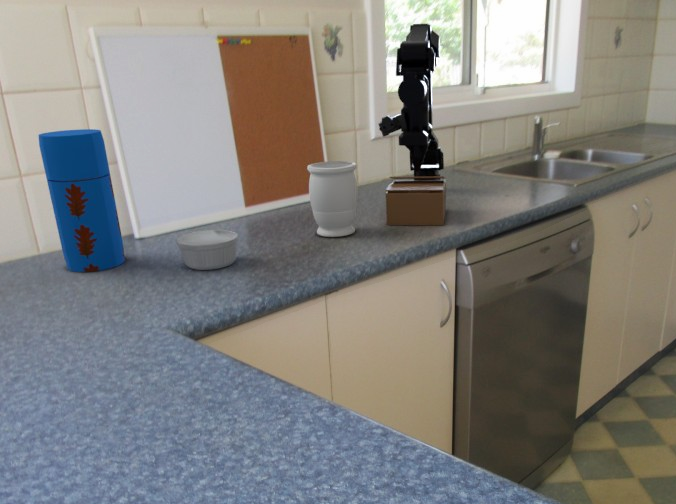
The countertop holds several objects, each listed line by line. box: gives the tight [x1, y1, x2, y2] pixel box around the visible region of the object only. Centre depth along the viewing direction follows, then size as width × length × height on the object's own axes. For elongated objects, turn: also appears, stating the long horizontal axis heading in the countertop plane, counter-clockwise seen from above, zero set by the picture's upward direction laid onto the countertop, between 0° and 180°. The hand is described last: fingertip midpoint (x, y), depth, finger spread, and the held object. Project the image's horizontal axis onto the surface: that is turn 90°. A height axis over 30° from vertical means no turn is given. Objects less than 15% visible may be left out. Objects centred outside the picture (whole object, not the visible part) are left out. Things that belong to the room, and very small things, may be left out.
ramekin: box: [176, 229, 239, 271], centre depth 127 cm, size 11×11×5 cm
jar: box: [307, 160, 359, 238], centre depth 144 cm, size 11×10×15 cm
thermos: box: [38, 128, 126, 273], centre depth 125 cm, size 11×11×25 cm
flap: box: [389, 175, 447, 180], centre depth 158 cm, size 7×13×1 cm, turn 84°
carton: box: [385, 179, 447, 226], centre depth 156 cm, size 15×13×8 cm
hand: (417, 171), depth 155 cm, fingers closed
